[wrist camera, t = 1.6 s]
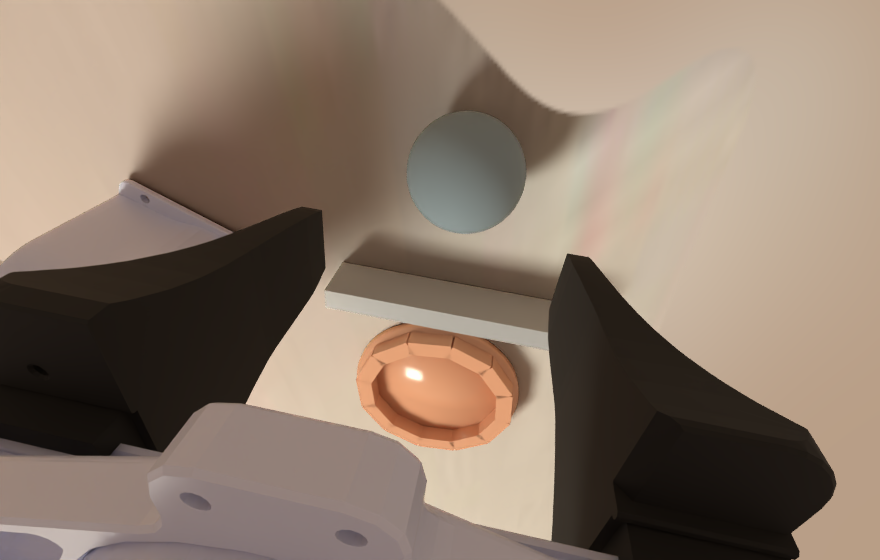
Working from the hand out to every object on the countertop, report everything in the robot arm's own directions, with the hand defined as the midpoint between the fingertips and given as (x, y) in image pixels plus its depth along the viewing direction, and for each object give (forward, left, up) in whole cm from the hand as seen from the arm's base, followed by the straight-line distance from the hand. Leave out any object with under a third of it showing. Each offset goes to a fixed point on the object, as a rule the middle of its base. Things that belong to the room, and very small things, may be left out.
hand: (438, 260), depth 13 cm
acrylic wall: (+3, -8, -9) cm, 12 cm away
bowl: (+6, -15, -9) cm, 19 cm away
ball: (0, 0, -7) cm, 7 cm away
